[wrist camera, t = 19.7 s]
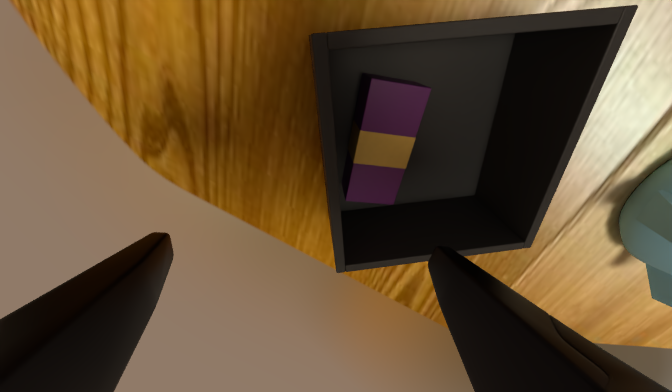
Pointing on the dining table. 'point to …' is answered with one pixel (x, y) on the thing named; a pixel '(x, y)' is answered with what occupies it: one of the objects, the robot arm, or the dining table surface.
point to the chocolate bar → (382, 137)
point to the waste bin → (464, 127)
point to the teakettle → (651, 230)
